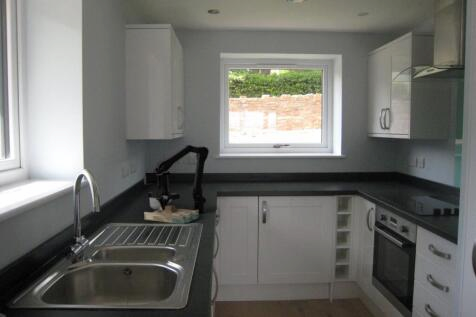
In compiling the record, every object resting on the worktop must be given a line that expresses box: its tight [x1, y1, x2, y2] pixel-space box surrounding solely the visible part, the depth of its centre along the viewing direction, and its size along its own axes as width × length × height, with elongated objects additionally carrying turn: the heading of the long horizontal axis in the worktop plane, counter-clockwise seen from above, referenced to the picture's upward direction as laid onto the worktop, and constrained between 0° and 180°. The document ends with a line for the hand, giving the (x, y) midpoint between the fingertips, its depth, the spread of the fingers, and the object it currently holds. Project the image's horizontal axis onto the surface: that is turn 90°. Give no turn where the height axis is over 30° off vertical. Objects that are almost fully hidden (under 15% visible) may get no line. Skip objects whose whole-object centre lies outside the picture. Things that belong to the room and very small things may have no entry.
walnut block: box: [165, 204, 176, 214], centre depth 213 cm, size 4×4×4 cm
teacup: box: [149, 195, 172, 210], centre depth 236 cm, size 14×11×8 cm
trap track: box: [143, 207, 200, 225], centre depth 209 cm, size 15×26×4 cm, turn 66°
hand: (163, 210), depth 215 cm, fingers closed
